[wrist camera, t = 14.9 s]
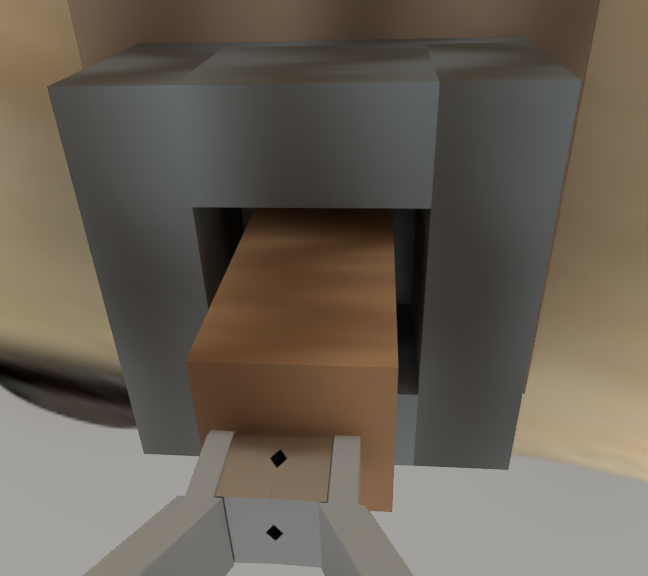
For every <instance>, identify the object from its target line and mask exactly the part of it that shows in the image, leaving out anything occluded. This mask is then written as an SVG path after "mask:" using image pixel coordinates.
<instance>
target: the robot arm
mask: <svg viewBox="0 0 648 576" xmlns="http://www.w3.org/2000/svg"><path fill="white" fill-rule="evenodd" d="M360 474H361V439H360V436H343V435H335V436H334V435H310V434H274V433H259V432H244V431H221V430H211V431H210V432H209V434H208V435H207V436H206V439H205V442H204V445H203V448H202V450H201V453H200V456H199V459H198V462H197V465H196V468H195V470H194V473H193V476H192V479H191V482H190V485H189V487H188V491H187V493H186V496H177V497H176V498H175V499H174V500H172V501H171V502H170V503H169V504H168V505H166V506H165V507H164V508H163V509H162V510H160V511H159V512H158V513H157V514H156V515H154V516H153V517H152V518H151V519H150V520H149V521H147V522H146V523H145V524H144V525H143V526H142V527H140V528H139V529H138V530H137V531H135V532H134V533H133V534H132V535H131V536H130V537H128V538H127V539H126V540H125V541H123V542H122V543H121V544H120V545H119V546H117V547H116V548H115V549H114V550H113V551H111V552H110V553H109V554H108V555H107V556H105V557H104V558H103V559H102V560H101V561H100V562H98V563H97V564H96V565H95V566H94V567H92V568H91V569H90V570H89V571H88V572H86V573H85V574H84V575H83V576H225V575H226V574H227V573H228V572H229V571H230V569H231V568H232V567H233V566H234V562H241V563H242V562H243V563H273V564H287V565H299V566H310V567H321V568H322V570H323V573H324V575H325V576H413V574H412V573H411V571H410V570H409V568H408V567H407V565H406V564H405V562H404V561H403V559H402V558H401V557H400V555H399V554H398V552H397V551H396V549H395V548H394V547H393V545H392V544H391V542H390V540H389V539H388V538H387V536H386V535H385V533H384V532H383V530H382V529H381V527H380V526H379V524H378V523H377V522H376V520H375V519H374V517H373V516H372V514H371V513H370V511H369V510H368V508H367V507H366V505H360Z"/></svg>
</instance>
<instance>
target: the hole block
mask: <svg viewBox="0 0 648 576" xmlns="http://www.w3.org/2000/svg"><path fill="white" fill-rule="evenodd" d="M599 2H600V0H68V4H69V8H70V12H71V17H72V21H73V25H74V30H75V34H76V38H77V43H78V47H79V52H80V56H81V60H82V65H83V69H84V70H82V71H80V72H78V73H76V74H74V75H71V76H69V77H67V78H65V79H63V80H61V81H59V82H57V83H54V84H52V85H50V86H48V87H47V88H48V92H49V95H50V99H51V103H52V107H53V111H54V114H55V118H56V122H57V126H58V129H59V133H60V137H61V141H62V145H63V148H64V152H65V156H66V160H67V163H68V167H69V171H70V175H71V179H72V182H73V186H74V190H75V194H76V198H77V201H78V205H79V209H80V213H81V216H82V220H83V224H84V228H85V232H86V235H87V239H88V243H89V247H90V251H91V254H92V258H93V262H94V266H95V269H96V273H97V277H98V281H99V285H100V288H101V292H102V296H103V300H104V303H105V307H106V311H107V315H108V319H109V322H110V326H111V330H112V334H113V338H114V341H115V345H116V349H117V353H118V356H119V360H120V364H121V368H122V372H123V375H124V379H125V383H126V387H127V391H128V394H129V398H130V402H131V406H132V409H133V413H134V417H135V421H136V425H137V428H138V431H139V435H140V440H141V443H142V447H143V451H144V454H163V455H186V456H200V453H201V450H202V447H201V441H200V436H199V431H198V426H197V421H196V415H195V410H194V405H193V400H192V395H191V389H190V384H189V379H188V374H187V369H186V363H185V361H186V358H187V356H188V354H189V352H190V350H191V347H192V345H193V343H194V341H195V339H196V336H197V334H198V332H199V330H200V328H201V326H202V323H203V321H204V319H205V317H206V315H207V312H208V310H209V308H210V306H211V304H212V301H213V299H214V297H215V295H216V293H217V290H218V288H219V286H220V284H221V282H222V279H223V277H224V275H225V273H226V271H227V269H228V266H229V264H230V262H231V260H232V258H233V255H234V253H235V251H236V249H237V247H238V244H239V242H240V240H241V238H242V236H243V233H244V231H245V229H246V227H247V225H248V223H249V220H250V218H251V216H252V214H253V212H254V209H255V208H393V233H394V261H395V288H396V316H397V343H398V388H397V410H396V433H395V455H394V465H414V466H437V467H460V468H482V469H504V470H508V467H509V462H510V457H511V452H512V446H513V441H514V436H515V430H516V425H517V420H518V414H519V409H520V404H521V398H522V394H525V389H526V384H527V379H528V374H529V368H530V363H531V358H532V353H533V347H534V342H535V337H536V332H537V326H538V321H539V316H540V311H541V306H542V300H543V295H544V290H545V285H546V279H547V274H548V269H549V264H550V258H551V253H552V248H553V243H554V237H555V232H556V227H557V222H558V216H559V211H560V206H561V201H562V196H563V190H564V185H565V180H566V175H567V169H568V164H569V159H570V154H571V148H572V143H573V138H574V133H575V127H576V122H577V117H578V112H579V107H580V101H581V96H582V91H583V86H584V80H585V75H586V70H587V65H588V59H589V54H590V49H591V44H592V38H593V33H594V28H595V23H596V18H597V12H598V7H599Z"/></svg>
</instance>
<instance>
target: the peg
mask: <svg viewBox="0 0 648 576" xmlns="http://www.w3.org/2000/svg"><path fill="white" fill-rule="evenodd" d="M185 363H186V369H187V374H188V379H189V384H190V389H191V395H192V400H193V405H194V410H195V415H196V421H197V426H198V431H199V436H200V441H201V447H202V448H203V445H204V442H205V439H206V436H207V435H208V434H209V432H210V431H211V430H221V431H244V432H259V433H274V434H310V435H334V436H335V435H343V436H360V439H361V474H360V505H366V507H367V508H368V510H369V511H388V512H392V499H393V477H394V455H395V433H396V410H397V388H398V343H397V316H396V288H395V261H394V233H393V208H255V209H254V212H253V214H252V216H251V218H250V220H249V223H248V225H247V227H246V229H245V231H244V233H243V236H242V238H241V240H240V242H239V244H238V247H237V249H236V251H235V253H234V255H233V258H232V260H231V262H230V264H229V266H228V269H227V271H226V273H225V275H224V277H223V279H222V282H221V284H220V286H219V288H218V290H217V293H216V295H215V297H214V299H213V301H212V304H211V306H210V308H209V310H208V312H207V315H206V317H205V319H204V321H203V323H202V326H201V328H200V330H199V332H198V334H197V336H196V339H195V341H194V343H193V345H192V347H191V350H190V352H189V354H188V356H187V358H186V361H185Z"/></svg>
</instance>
